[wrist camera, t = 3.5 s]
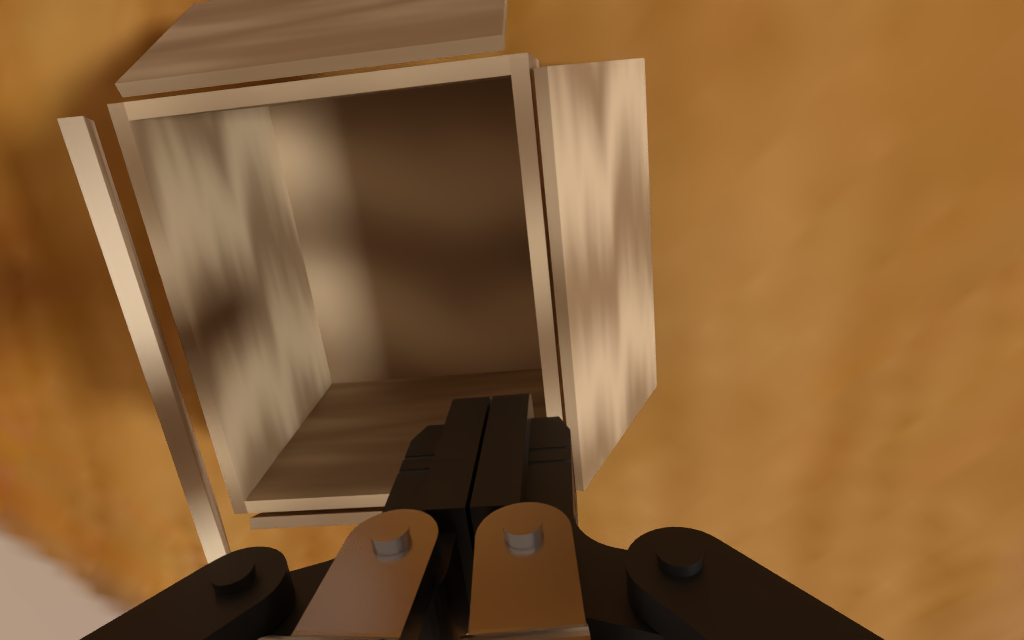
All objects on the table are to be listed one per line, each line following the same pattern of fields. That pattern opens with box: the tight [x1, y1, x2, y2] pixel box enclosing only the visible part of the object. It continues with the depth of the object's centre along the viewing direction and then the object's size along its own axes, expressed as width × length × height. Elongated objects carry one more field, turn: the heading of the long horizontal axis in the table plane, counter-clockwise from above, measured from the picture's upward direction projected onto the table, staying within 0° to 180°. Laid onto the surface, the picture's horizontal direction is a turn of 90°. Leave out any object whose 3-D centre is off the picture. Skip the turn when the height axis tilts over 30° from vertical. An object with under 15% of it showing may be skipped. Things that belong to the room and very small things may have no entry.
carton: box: [107, 0, 657, 529], centre depth 24 cm, size 20×16×10 cm
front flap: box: [57, 116, 231, 564], centre depth 17 cm, size 13×1×8 cm
